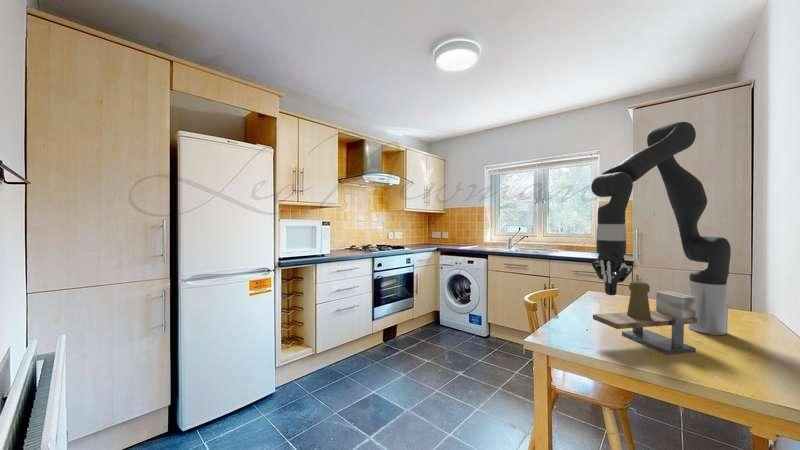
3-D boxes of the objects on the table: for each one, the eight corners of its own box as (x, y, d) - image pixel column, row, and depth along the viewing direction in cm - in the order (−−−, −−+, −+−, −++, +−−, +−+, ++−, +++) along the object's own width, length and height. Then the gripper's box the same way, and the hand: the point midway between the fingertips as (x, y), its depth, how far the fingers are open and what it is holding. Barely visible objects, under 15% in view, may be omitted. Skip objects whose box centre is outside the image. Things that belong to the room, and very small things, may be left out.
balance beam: (664, 313, 103) (664, 290, 103) (701, 324, 92) (701, 298, 92) (590, 318, 99) (590, 293, 99) (620, 330, 88) (620, 302, 88)
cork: (655, 320, 92) (656, 284, 92) (633, 319, 93) (633, 283, 93) (643, 314, 98) (644, 280, 98) (622, 312, 99) (623, 279, 99)
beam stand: (646, 333, 105) (647, 304, 105) (695, 351, 90) (696, 318, 90) (621, 334, 103) (622, 305, 103) (667, 354, 88) (668, 320, 88)
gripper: (641, 240, 87) (641, 299, 87) (603, 237, 100) (603, 289, 101) (619, 240, 86) (618, 301, 86) (583, 237, 99) (583, 290, 99)
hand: (610, 294), depth 93 cm, fingers closed
